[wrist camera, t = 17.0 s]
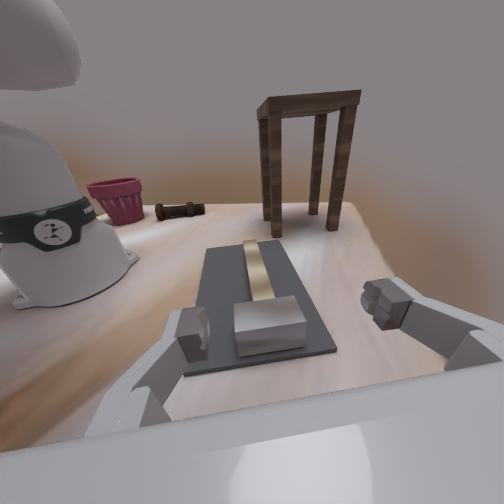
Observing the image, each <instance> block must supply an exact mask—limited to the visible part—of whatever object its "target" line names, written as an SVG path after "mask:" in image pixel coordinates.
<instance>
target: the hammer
mask: <svg viewBox="0 0 504 504" xmlns="http://www.w3.org/2000/svg"><path fill="white" fill-rule="evenodd" d="M243 246H244V253H245V260H246V266H247V272H248V278H249V284H250V290H251V297H252V301H250V302H243V303H236V304H234V323H235V336H236V342H237V347H238V353H239V357H242V356H248V355H254V354H261V353H267V352H273V351H280V350H286V349H292V348H299V347H305V341H306V322H307V321H306V319H305V317H304V315H303V313H302V311H301V309H300V307H299V305H298V303H297V300H296V298H295V296H294V295H293V296H286V297H279V298H275V295H274V292H273V289H272V286H271V283H270V280H269V277H268V274H267V271H266V268H265V265H264V262H263V259H262V256H261V253H260V250H259V247H258V244H257V241H256V239H255V240H247V241H243Z"/></svg>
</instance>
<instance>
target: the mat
mask: <svg viewBox="0 0 504 504" xmlns="http://www.w3.org/2000/svg"><path fill="white" fill-rule="evenodd" d="M257 244H258V247H259V250H260V253H261V256H262V259H263V262H264V265H265V268H266V271H267V274H268V277H269V280H270V283H271V286H272V289H273V292H274V295H275V298H279V297H286V296H293V295H294V296H295V298H296V300H297V303H298V305H299V307H300V309H301V311H302V313H303V315H304V317H305V319H306V321H307V322H306V341H305V347H299V348H292V349H286V350H280V351H273V352H267V353H261V354H254V355H248V356H242V357H239V353H238V347H237V342H236V336H235V323H234V304H236V303H243V302H250V301H252V297H251V290H250V284H249V278H248V272H247V266H246V260H245V253H244V246H243V244H241V245H233V246H225V247H217V248H209V249H206V254H205V260H204V265H203V270H202V275H201V280H200V286H199V291H198V296H197V301H196V307H199V306H204V307H205V309H206V317H207V318H208V319H209V324H210V338H209V339H208V341H207V342H208V345H209V351H208V360H204V361H199V362H194V363H189V365H188V367H187V369H186V370H185V372H184V373H183V375H184V376H190V375H196V374H202V373H208V372H214V371H220V370H226V369H233V368H239V367H245V366H251V365H257V364H263V363H269V362H275V361H281V360H287V359H294V358H300V357H306V356H312V355H318V354H324V353H330V352H336V351H337V346H336V345H335V343H334V341H333V339H332V337H331V335H330V334H329V332H328V330H327V328H326V326H325V324H324V322H323V321H322V319H321V317H320V315H319V313H318V311H317V309H316V308H315V306H314V304H313V302H312V300H311V298H310V297H309V295H308V293H307V291H306V289H305V287H304V285H303V284H302V282H301V280H300V278H299V276H298V274H297V272H296V271H295V269H294V267H293V265H292V263H291V261H290V260H289V258H288V256H287V254H286V252H285V250H284V248H283V247H282V245H281V243H280V241H279V240H272V241H264V242H257Z"/></svg>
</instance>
